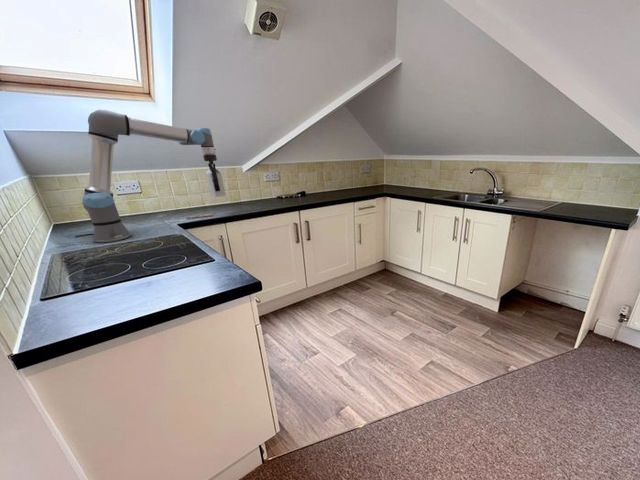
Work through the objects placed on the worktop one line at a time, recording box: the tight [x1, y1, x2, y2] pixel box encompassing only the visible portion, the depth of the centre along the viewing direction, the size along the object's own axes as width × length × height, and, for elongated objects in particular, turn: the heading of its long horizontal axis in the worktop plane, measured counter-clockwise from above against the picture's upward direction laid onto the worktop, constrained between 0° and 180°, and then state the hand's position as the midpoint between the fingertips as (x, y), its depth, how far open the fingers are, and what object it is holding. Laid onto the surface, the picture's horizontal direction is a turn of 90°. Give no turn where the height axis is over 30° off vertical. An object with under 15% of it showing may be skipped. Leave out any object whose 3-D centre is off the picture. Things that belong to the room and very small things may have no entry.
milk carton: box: [205, 168, 227, 198], centre depth 200 cm, size 7×7×19 cm
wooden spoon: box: [186, 213, 213, 220], centre depth 203 cm, size 15×5×1 cm, turn 119°
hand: (217, 190), depth 202 cm, fingers closed on milk carton, 9 cm apart
